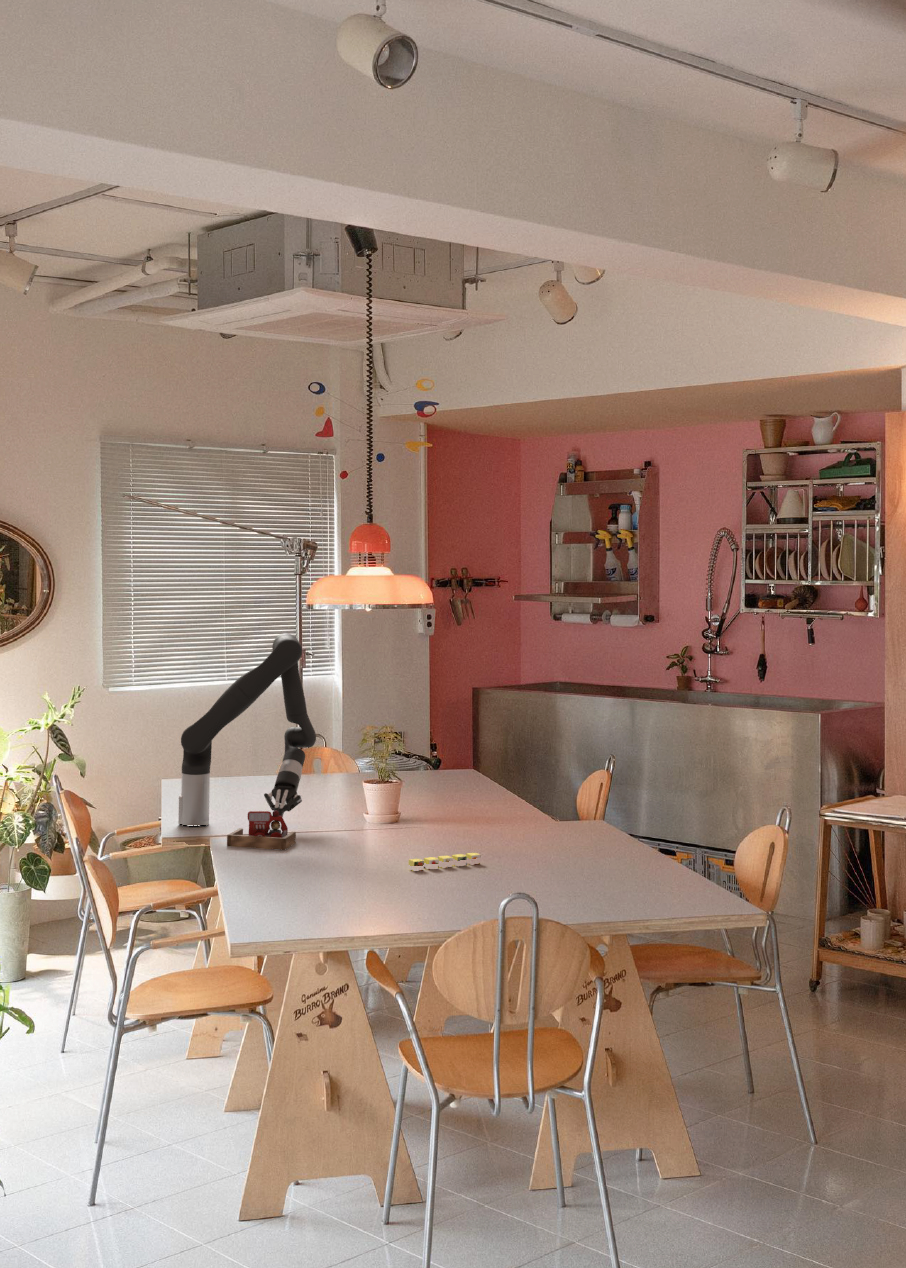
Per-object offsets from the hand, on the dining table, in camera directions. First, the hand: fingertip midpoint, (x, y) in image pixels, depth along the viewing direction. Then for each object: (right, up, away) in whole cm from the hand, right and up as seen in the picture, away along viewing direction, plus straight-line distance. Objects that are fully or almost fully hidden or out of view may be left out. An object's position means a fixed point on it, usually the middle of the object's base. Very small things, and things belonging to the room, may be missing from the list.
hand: (276, 820), depth 411 cm
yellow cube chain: (+56, -9, -40) cm, 69 cm away
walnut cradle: (-3, -5, -14) cm, 15 cm away
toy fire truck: (-1, -6, -13) cm, 14 cm away
